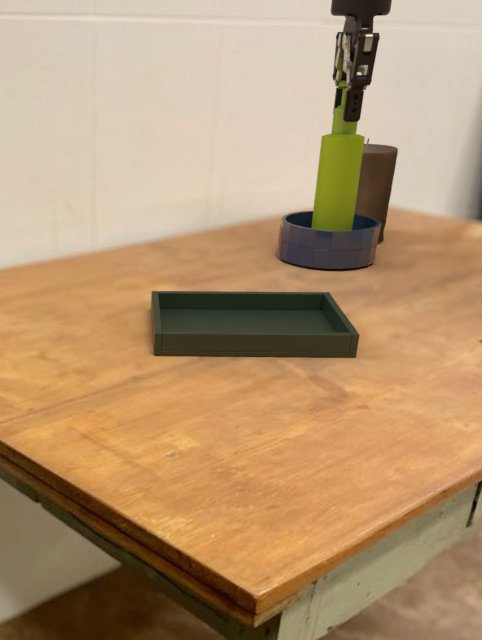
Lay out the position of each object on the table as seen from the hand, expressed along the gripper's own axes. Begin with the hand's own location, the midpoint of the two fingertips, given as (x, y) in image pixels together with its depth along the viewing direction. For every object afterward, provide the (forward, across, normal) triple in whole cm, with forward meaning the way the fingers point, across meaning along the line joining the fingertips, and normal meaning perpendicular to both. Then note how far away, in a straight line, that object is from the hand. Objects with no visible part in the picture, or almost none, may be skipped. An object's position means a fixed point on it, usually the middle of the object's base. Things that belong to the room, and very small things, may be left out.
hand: (345, 118), depth 112 cm
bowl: (+19, 0, 0) cm, 19 cm away
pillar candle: (+19, +13, -7) cm, 24 cm away
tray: (+19, -34, +16) cm, 42 cm away
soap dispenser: (+16, 0, 0) cm, 16 cm away
